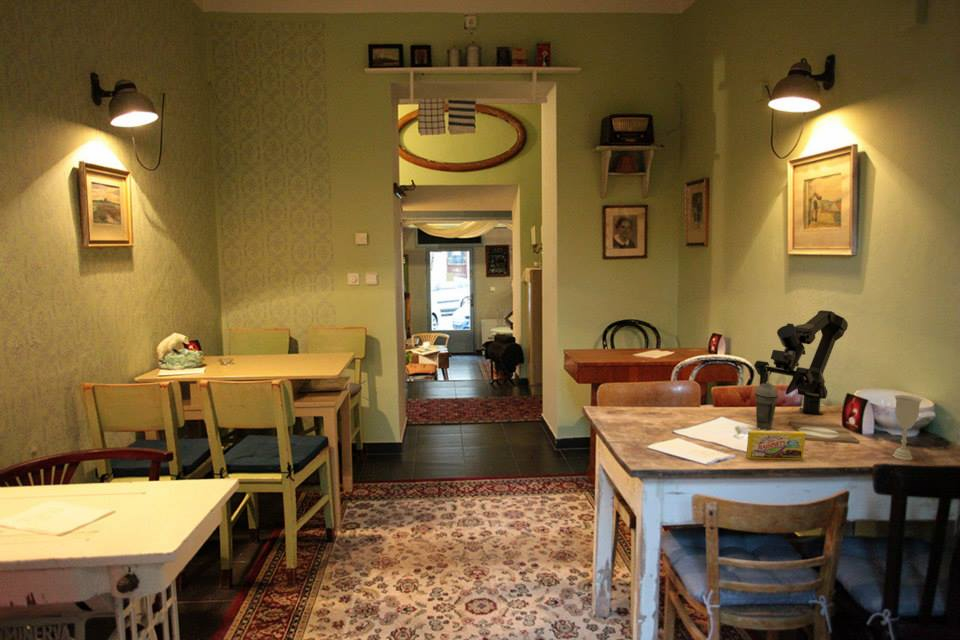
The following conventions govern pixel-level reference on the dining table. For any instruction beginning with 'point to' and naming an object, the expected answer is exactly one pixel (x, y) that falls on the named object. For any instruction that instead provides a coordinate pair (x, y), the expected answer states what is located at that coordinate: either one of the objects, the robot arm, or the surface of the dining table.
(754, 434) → the candy box
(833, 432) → the walnut board
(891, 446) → the dining table surface
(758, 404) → the beverage cup
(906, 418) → the chalice
